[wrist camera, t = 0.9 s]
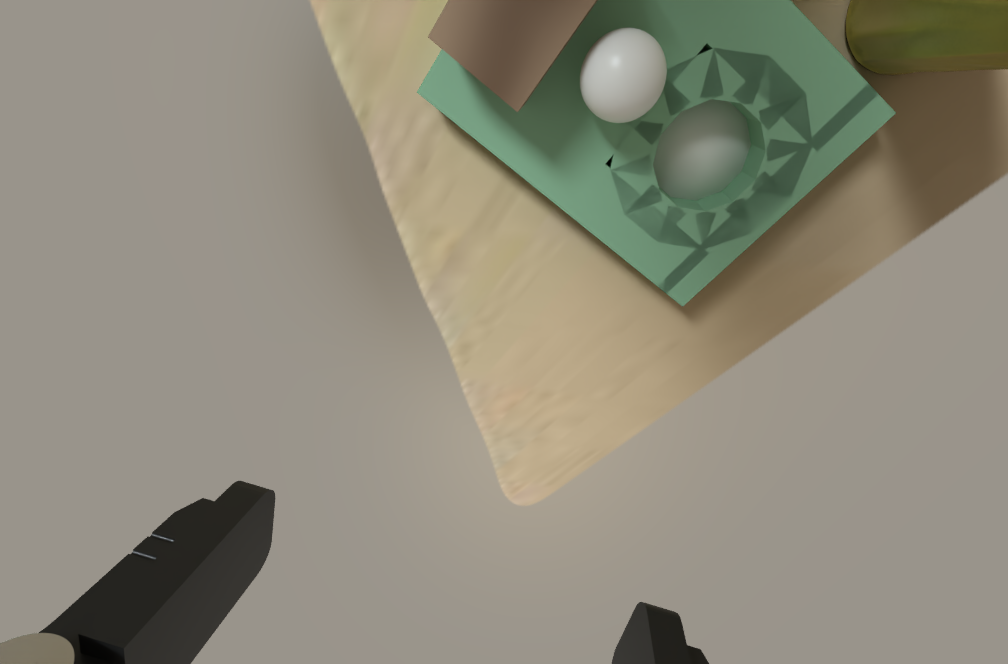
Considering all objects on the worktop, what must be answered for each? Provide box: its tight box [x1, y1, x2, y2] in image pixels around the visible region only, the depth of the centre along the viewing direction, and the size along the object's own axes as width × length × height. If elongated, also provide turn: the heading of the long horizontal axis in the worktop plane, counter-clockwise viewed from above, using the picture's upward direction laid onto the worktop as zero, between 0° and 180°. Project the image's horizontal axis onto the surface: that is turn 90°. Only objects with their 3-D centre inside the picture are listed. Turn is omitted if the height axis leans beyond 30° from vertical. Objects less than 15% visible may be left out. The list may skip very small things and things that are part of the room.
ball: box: [580, 28, 667, 123], centre depth 23 cm, size 4×4×4 cm
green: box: [417, 0, 896, 307], centre depth 26 cm, size 20×14×2 cm
